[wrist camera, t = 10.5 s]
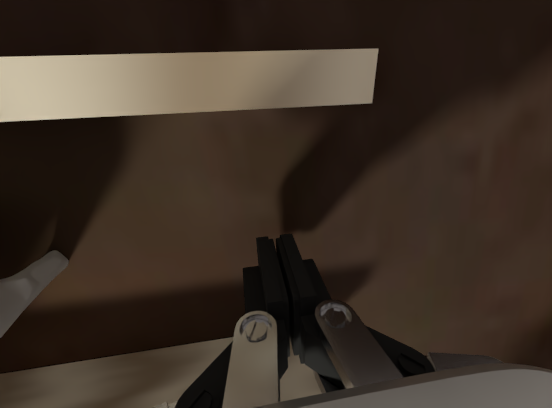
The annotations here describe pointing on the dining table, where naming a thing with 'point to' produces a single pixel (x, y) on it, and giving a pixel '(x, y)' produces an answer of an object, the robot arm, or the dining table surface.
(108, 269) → the dining table surface
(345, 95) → the channel
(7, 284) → the dog figurine
